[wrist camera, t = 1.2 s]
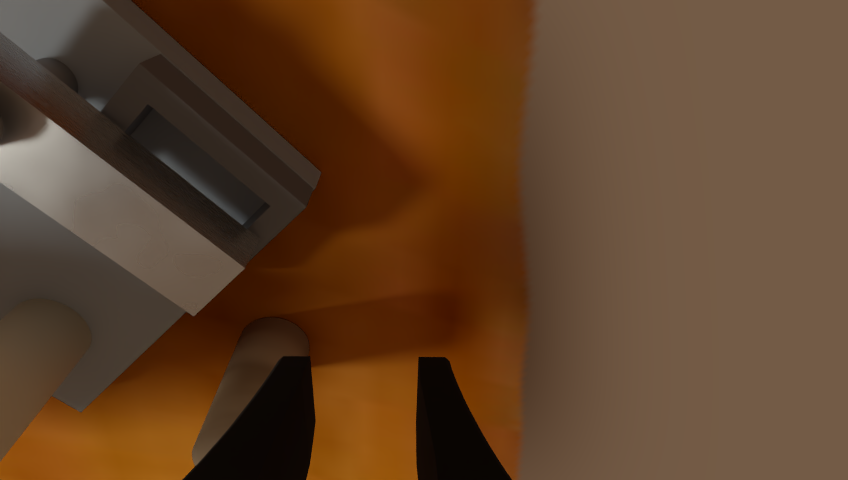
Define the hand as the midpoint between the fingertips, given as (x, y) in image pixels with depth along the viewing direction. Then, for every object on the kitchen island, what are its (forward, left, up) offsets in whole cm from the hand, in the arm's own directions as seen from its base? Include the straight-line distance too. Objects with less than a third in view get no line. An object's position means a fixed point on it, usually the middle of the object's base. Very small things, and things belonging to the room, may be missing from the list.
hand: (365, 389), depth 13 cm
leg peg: (-8, -1, -9) cm, 12 cm away
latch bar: (-4, +8, -6) cm, 10 cm away
